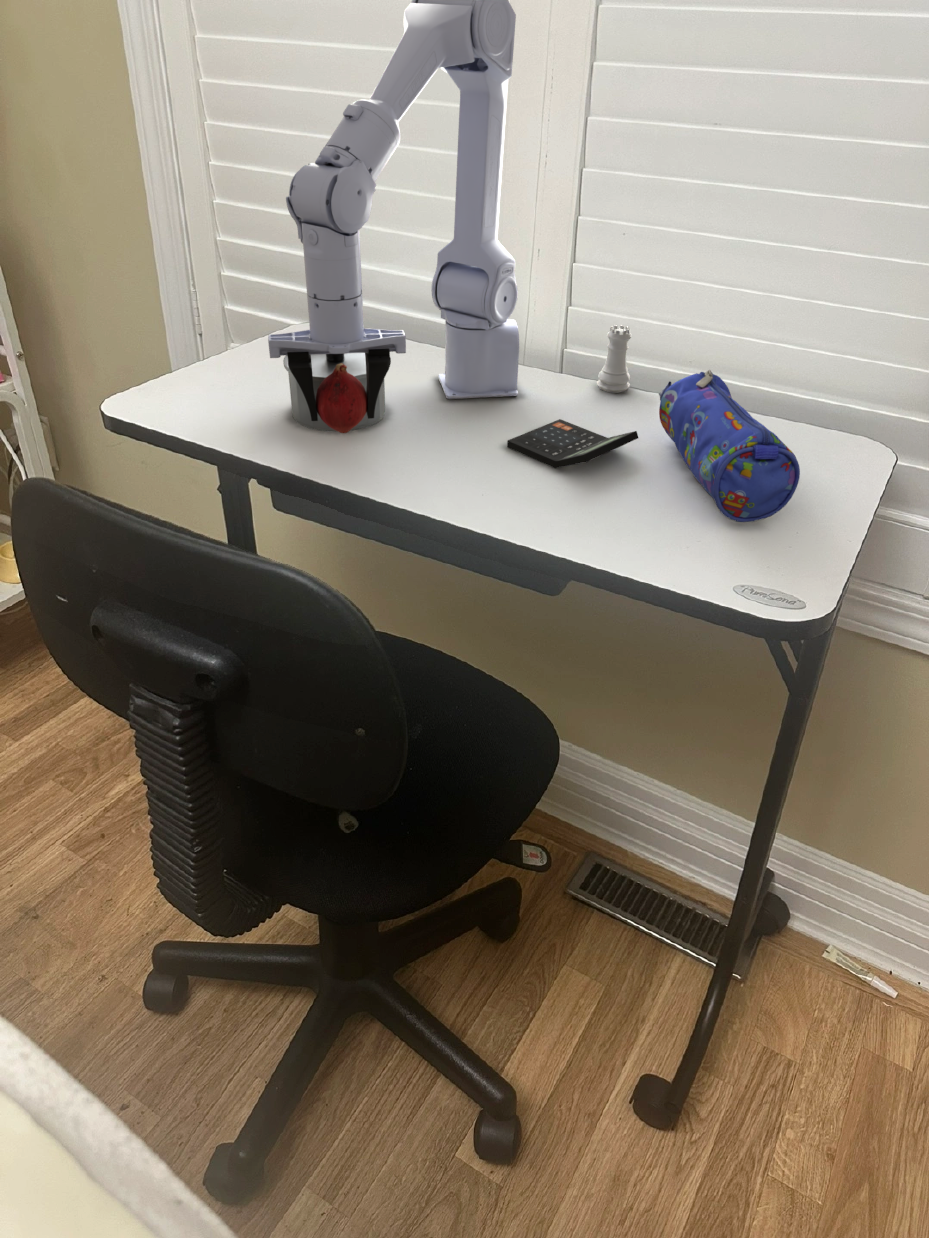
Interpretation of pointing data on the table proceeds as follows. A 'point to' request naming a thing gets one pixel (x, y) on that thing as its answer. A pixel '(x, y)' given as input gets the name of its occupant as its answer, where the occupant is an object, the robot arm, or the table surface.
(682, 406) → the pencil case
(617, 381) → the rook chess piece
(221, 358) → the table surface
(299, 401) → the pot
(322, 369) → the pot lid
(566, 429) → the calculator
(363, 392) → the red oval fruit
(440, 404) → the table surface
